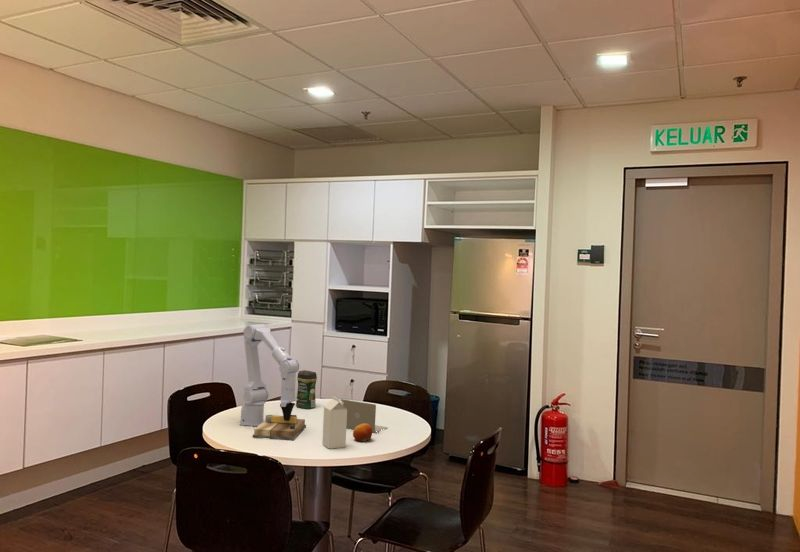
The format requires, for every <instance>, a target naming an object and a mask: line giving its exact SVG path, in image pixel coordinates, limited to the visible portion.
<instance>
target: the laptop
mask: <svg viewBox="0 0 800 552" xmlns="http://www.w3.org/2000/svg"><path fill="white" fill-rule="evenodd" d="M340 400H341V401H342V402H343V403H344V404H343V406H344V407H345V408H346V409H347V424H346V430H350V429H351V430H350V431H354V429H355V427H356V426H358V425H360V424H364V423H366V424H369V425H370V426H371V427H372V433H376V434H377V432H378V433H380V432H379V431H381V429H382V430H383V429H385V430H387V429H388V426H383V425H377V424H376V415H377V413H376V411H377V404H375V403H374V404H373V403H368V402H363V401H362V402H361V401H357V400H356V401H355V400H348V399H343V398H342V399H340ZM386 428H387V429H386ZM376 431H377V432H376ZM383 431H384V430H383ZM381 432H382V431H381Z"/></svg>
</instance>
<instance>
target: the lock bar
mask: <svg viewBox="0 0 800 552" xmlns="http://www.w3.org/2000/svg"><path fill="white" fill-rule="evenodd" d="M297 419H298V416H296V417H294V416H290V420H289V421H284V417H283V415H274V414H267V415H265V420H266V422H276V423H293V424H295V423H296V422H297Z"/></svg>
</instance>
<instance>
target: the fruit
mask: <svg viewBox="0 0 800 552" xmlns="http://www.w3.org/2000/svg"><path fill="white" fill-rule="evenodd" d="M372 436H373V434H372V427H371V426H370V425H369V424H366V423H364V424H360V425H358V426H356V427H355V429H354V430H352V437H353V438H354V440H356V441H357V442H365V443H366V441H367V440H370V441H371V440H372Z"/></svg>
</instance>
